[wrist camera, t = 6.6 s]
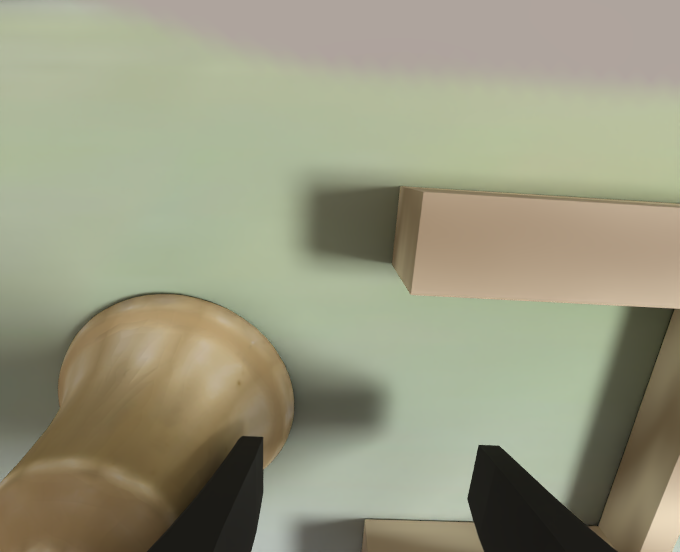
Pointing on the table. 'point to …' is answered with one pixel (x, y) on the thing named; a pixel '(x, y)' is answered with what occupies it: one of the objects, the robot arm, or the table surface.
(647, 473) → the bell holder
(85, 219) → the table surface
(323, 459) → the table surface
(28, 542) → the hand bell
